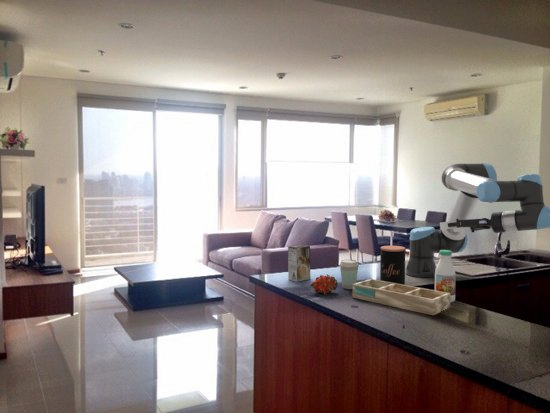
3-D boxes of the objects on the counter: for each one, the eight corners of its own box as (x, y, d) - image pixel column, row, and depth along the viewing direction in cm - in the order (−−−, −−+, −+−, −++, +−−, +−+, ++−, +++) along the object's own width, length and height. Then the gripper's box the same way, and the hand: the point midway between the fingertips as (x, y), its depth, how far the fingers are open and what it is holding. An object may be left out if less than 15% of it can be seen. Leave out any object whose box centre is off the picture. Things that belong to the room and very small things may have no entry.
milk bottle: (430, 299, 192) (431, 249, 190) (445, 296, 195) (446, 248, 193) (444, 303, 184) (445, 252, 183) (459, 301, 187) (460, 251, 186)
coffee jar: (375, 287, 210) (375, 247, 209) (387, 283, 218) (388, 244, 217) (397, 291, 203) (397, 250, 202) (409, 287, 211) (409, 247, 210)
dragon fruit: (340, 296, 202) (312, 301, 201) (335, 281, 209) (308, 286, 208) (340, 283, 197) (312, 288, 196) (335, 268, 203) (308, 273, 202)
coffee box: (301, 276, 234) (301, 244, 232) (310, 279, 229) (310, 245, 228) (287, 279, 228) (287, 246, 226) (297, 282, 223) (297, 248, 222)
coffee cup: (358, 290, 206) (358, 263, 205) (338, 289, 208) (338, 262, 207) (359, 285, 215) (359, 259, 214) (340, 284, 216) (340, 258, 215)
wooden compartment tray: (370, 291, 204) (370, 278, 204) (450, 307, 179) (450, 293, 179) (351, 297, 194) (351, 284, 194) (432, 315, 169) (433, 300, 169)
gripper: (495, 229, 164) (435, 234, 177) (515, 234, 182) (459, 238, 196) (492, 208, 165) (433, 215, 179) (513, 214, 184) (458, 220, 197)
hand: (447, 227), depth 187 cm, fingers open, 13 cm apart
